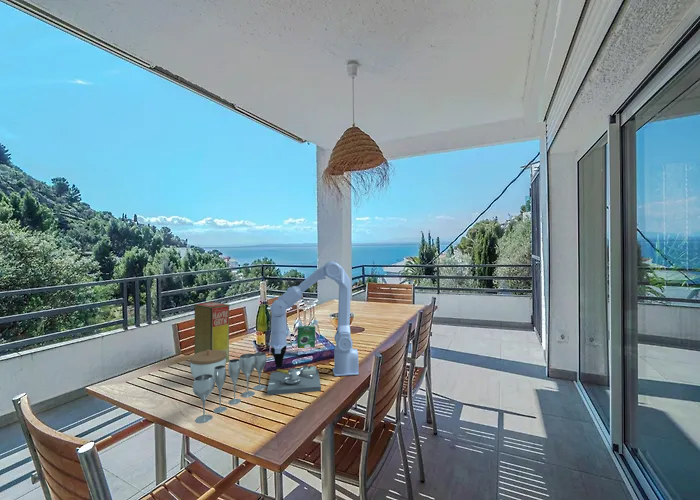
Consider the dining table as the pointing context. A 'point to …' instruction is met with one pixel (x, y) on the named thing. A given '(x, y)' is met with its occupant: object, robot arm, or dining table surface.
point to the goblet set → (246, 363)
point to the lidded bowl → (206, 362)
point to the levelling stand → (303, 386)
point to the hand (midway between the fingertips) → (279, 366)
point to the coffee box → (306, 336)
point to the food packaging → (212, 327)
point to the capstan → (294, 375)
